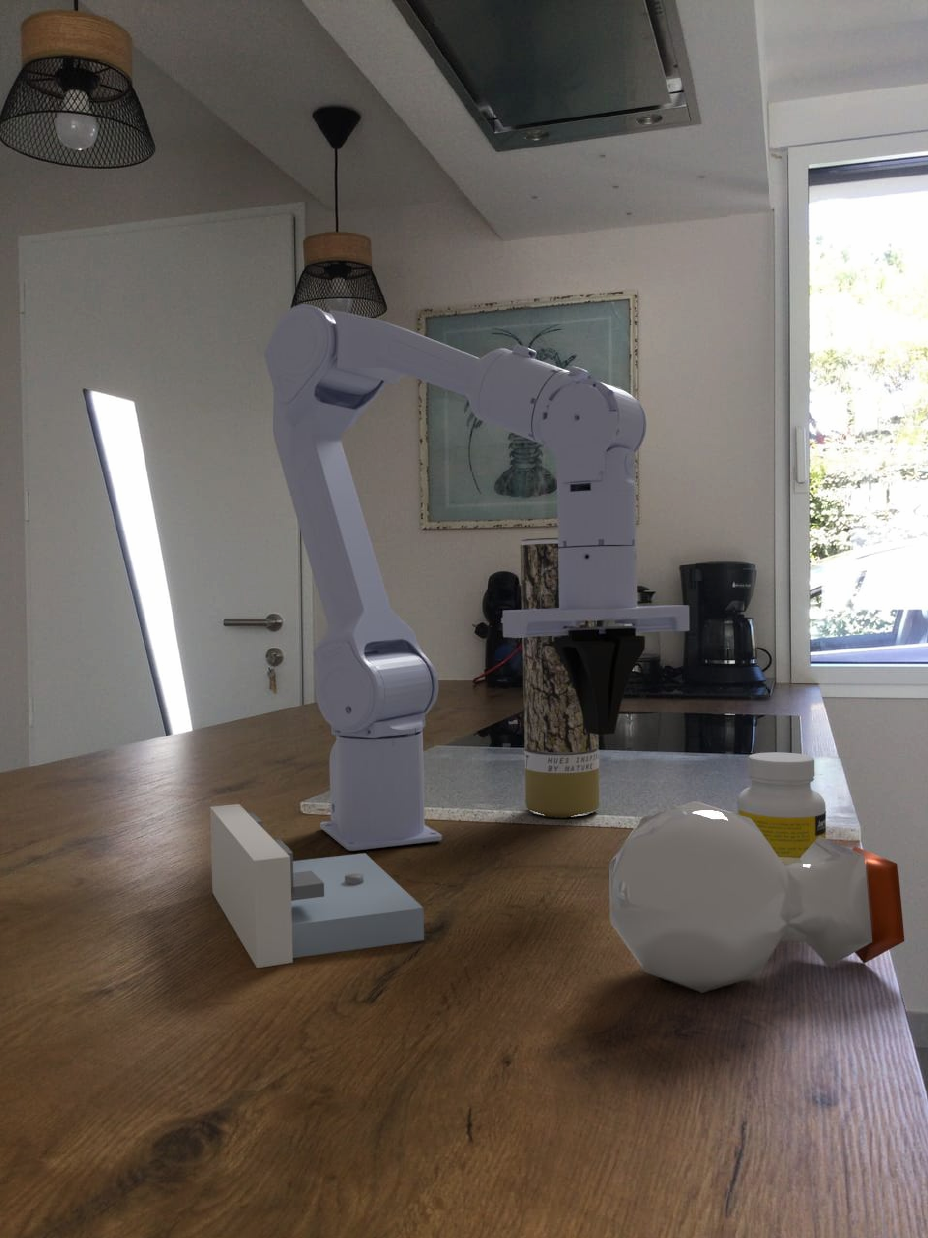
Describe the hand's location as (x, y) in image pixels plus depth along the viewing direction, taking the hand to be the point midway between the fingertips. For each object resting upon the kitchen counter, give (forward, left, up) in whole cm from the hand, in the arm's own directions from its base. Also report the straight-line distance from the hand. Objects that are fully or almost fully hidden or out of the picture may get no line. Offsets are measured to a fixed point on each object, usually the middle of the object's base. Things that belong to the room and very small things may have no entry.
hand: (600, 733), depth 78 cm
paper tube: (-18, +6, -10) cm, 22 cm away
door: (+2, -21, -10) cm, 24 cm away
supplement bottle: (+14, +5, -10) cm, 18 cm away
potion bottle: (+22, -4, -10) cm, 24 cm away
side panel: (+2, -25, -10) cm, 27 cm away
